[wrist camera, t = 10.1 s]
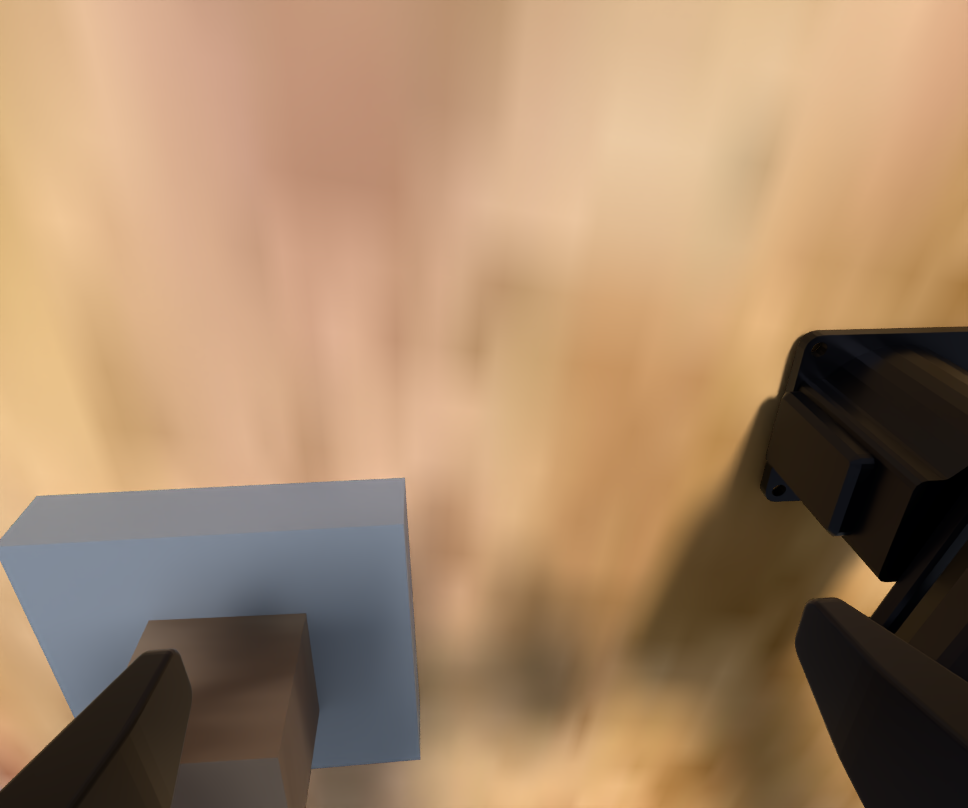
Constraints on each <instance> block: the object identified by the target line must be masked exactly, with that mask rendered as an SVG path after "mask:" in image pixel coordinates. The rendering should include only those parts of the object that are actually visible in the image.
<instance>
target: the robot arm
mask: <svg viewBox="0 0 968 808" xmlns="http://www.w3.org/2000/svg"><path fill="white" fill-rule="evenodd" d="M817 343H820V346H819V348H818V349H817V350H815V351H813V352H812V348H813V346H815V345H816V344H817ZM766 460H767V462H766V466H765V469H764V473H763V477H762V481H761V484H760V489H761V491H762V493H763V494H764V495H765V497H766V498H767V499H768V500H770V501H774V502H781V501H802V502H803V504H804V505H805V506H806V507H807V508H808V509H809V511H810V512H811V513H812V514H813V515H814V516H815V518H816V519H817V520H818V521H819V522H820V524H821V525H822V526H823V527H824V528H825V529H826V530H827V532H828V533H829V534H831V535H832V536H842V537H843V538H844V539H845V541H846V542H847V543H848V544H849V545H850V546H851V547H852V549H853V550H854V551H855V552H856V553H857V554H858V556H859V557H860V558H861V559H862V560H863V561H864V562H865V564H866V565H867V566H868V567H869V568H870V569H871V570H872V572H873V573H874V574H875V575H876V576H877V577H878V578H879V580H880V581H882V582H896V581H897V582H896V583H895V584H894V586H893V587H892V588H891V590H890V591H889V593H888V594H887V595H886V597H885V598H884V599H883V601H882V602H881V603H880V605H879V606H878V608H877V609H876V610H875V612H874V613H873V614H872V616H871V617H867V616H866V615H864V614H863V613H861V612H859V611H858V610H856V609H855V608H853V607H852V606H850V605H849V604H847V603H846V602H844V601H842V600H840V599H838V598H818V599H811V600H809V601H808V602H807V603H806V605H805V607H804V611H803V614H802V617H801V620H800V623H799V627H798V630H797V633H796V637H795V648H796V652H797V655H798V658H799V660H800V663H801V665H802V668H803V670H804V673H805V675H806V678H807V680H808V683H809V685H810V688H811V690H812V693H813V695H814V698H815V700H816V703H817V705H818V708H819V710H820V713H821V715H822V718H823V720H824V723H825V725H826V728H827V730H828V733H829V735H830V738H831V740H832V742H833V745H834V747H835V749H836V752H837V754H838V756H839V758H840V760H841V762H842V764H843V766H844V768H845V770H846V772H847V775H848V776H849V778H850V780H851V782H852V784H853V786H854V788H855V790H856V792H857V794H858V796H859V798H860V800H861V802H862V803H863V805H864V807H865V808H968V327H932V328H892V329H851V330H816V331H811V332H809V333H807V334H806V335H804V336H803V337H802V338H801V340H800V342H799V344H798V346H797V350H796V354H795V357H794V361H793V365H792V369H791V372H790V376H789V380H788V384H787V387H786V391H785V394H784V396H783V397H782V399H781V401H780V405H779V409H778V413H777V416H776V420H775V424H774V428H773V431H772V435H771V439H770V443H769V446H768V450H767V454H766ZM777 485H779V487H777V488H776V489H773V488H774V487H776V486H777ZM191 705H192V687H191V684H190V681H189V678H188V675H187V672H186V669H185V666H184V664H183V661H182V658H181V655H180V653H179V652H178V651H177V650H176V649H172V648H169V649H156V650H148V651H145V652H144V653H142V654H141V655H140V656H138V657H137V658H136V659H135V660H134V661H133V662H132V663H131V664H130V665H129V666H128V667H127V668H126V669H125V670H124V671H123V672H122V673H121V674H120V675H119V676H118V677H117V678H116V679H115V680H114V681H113V682H112V683H111V684H110V685H109V686H108V687H107V688H105V689H104V690H103V691H102V692H101V693H100V694H99V695H98V696H97V697H96V698H95V699H94V700H93V701H92V702H91V703H90V704H89V705H88V706H87V707H86V708H85V709H84V710H83V711H82V712H81V713H80V714H79V715H78V716H77V717H76V718H75V719H74V720H73V721H72V722H71V723H70V724H68V725H67V726H66V727H65V728H64V729H63V730H62V731H61V732H60V733H59V734H58V735H57V736H56V737H55V738H54V739H53V740H52V741H51V742H50V743H49V744H48V745H47V746H46V747H45V748H44V749H43V750H42V751H41V752H40V753H39V754H38V755H37V756H36V757H35V758H34V759H33V760H31V761H30V762H29V763H28V764H27V765H26V766H25V767H24V768H23V769H22V770H21V771H20V772H19V773H18V774H17V775H16V776H15V777H14V778H13V779H12V780H11V781H10V782H9V783H8V784H7V785H6V786H5V787H4V788H3V789H2V790H1V791H0V808H171V805H172V800H173V795H174V790H175V785H176V780H177V775H178V770H179V765H180V760H181V755H182V750H183V745H184V740H185V735H186V730H187V726H188V721H189V716H190V711H191Z"/></svg>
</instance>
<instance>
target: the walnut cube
mask: <svg viewBox="0 0 968 808" xmlns="http://www.w3.org/2000/svg"><path fill="white" fill-rule="evenodd" d="M169 648H172V649H176V650H177V651H178V652H179V653H180V655H181V658H182V661H183V664H184V666H185V669H186V672H187V675H188V678H189V681H190V684H191V687H192V705H191V711H190V716H189V721H188V726H187V730H186V735H185V740H184V745H183V750H182V755H181V760H180V765H179V770H178V775H177V780H176V785H175V790H174V795H173V800H172V805H171V808H305V807H306V800H307V793H308V786H309V780H310V773H311V766H312V759H313V752H314V745H315V739H316V732H317V725H318V718H319V711H320V710H319V703H318V696H317V688H316V681H315V674H314V667H313V659H312V652H311V645H310V637H309V630H308V623H307V615H306V613H300V614H279V615H257V616H235V617H213V618H191V619H169V620H149V621H148V623H147V625H146V627H145V630H144V632H143V634H142V636H141V638H140V640H139V642H138V645H137V647H136V649H135V651H134V653H133V655H132V657H131V660H130V662H129V664H128V666H129V665H130V664H131V663H132V662H133V661H134V660H135V659H136V658H137V657H138V656H140V655H141V654H142V653H144V652H145V651H148V650H156V649H169ZM128 666H127V667H128Z"/></svg>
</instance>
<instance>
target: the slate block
mask: <svg viewBox="0 0 968 808" xmlns="http://www.w3.org/2000/svg"><path fill="white" fill-rule="evenodd" d="M0 561H1V563H2V565H3V568H4V570H5V572H6V574H7V576H8V578H9V580H10V582H11V584H12V587H13V589H14V591H15V593H16V595H17V597H18V599H19V601H20V603H21V606H22V608H23V610H24V612H25V614H26V616H27V618H28V620H29V623H30V625H31V627H32V629H33V631H34V633H35V635H36V637H37V639H38V642H39V644H40V646H41V648H42V650H43V652H44V654H45V656H46V658H47V661H48V663H49V665H50V667H51V669H52V671H53V673H54V675H55V677H56V680H57V682H58V684H59V686H60V688H61V690H62V692H63V694H64V697H65V699H66V701H67V703H68V705H69V707H70V709H71V711H72V713H73V716H74V718H76V717H77V716H78V715H79V714H80V713H81V712H82V711H83V710H84V709H85V708H86V707H87V706H88V705H89V704H90V703H91V702H92V701H93V700H94V699H95V698H96V697H97V696H98V695H99V694H100V693H101V692H102V691H103V690H104V689H105V688H107V687H108V686H109V685H110V684H111V683H112V682H113V681H114V680H115V679H116V678H117V677H118V676H119V675H120V674H121V673H122V672H123V671H124V670H125V669H126V668H127V666H128V664H129V662H130V660H131V657H132V655H133V653H134V651H135V649H136V647H137V645H138V642H139V640H140V638H141V636H142V634H143V632H144V630H145V627H146V625H147V623H148V621H149V620H169V619H191V618H213V617H235V616H257V615H279V614H300V613H306V615H307V623H308V630H309V637H310V645H311V652H312V659H313V667H314V674H315V681H316V688H317V696H318V703H319V710H320V711H319V718H318V725H317V732H316V739H315V745H314V752H313V759H312V766H311V769H316V768H328V767H339V766H351V765H362V764H374V763H386V762H397V761H409V760H420V700H419V684H418V669H417V654H416V639H415V624H414V609H413V594H412V579H411V564H410V549H409V534H408V519H407V504H406V489H405V478H391V479H371V480H351V481H331V482H311V483H291V484H270V485H250V486H230V487H210V488H190V489H169V490H149V491H129V492H109V493H89V494H69V495H48V496H36V497H35V499H34V500H33V501H32V502H31V503H30V505H29V506H28V507H27V508H26V509H25V511H24V512H23V513H22V514H21V515H20V517H19V518H18V519H17V520H16V521H15V522H14V524H13V525H12V526H11V527H10V528H9V530H8V531H7V532H6V533H5V534H4V536H3V537H2V538H1V539H0Z"/></svg>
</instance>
